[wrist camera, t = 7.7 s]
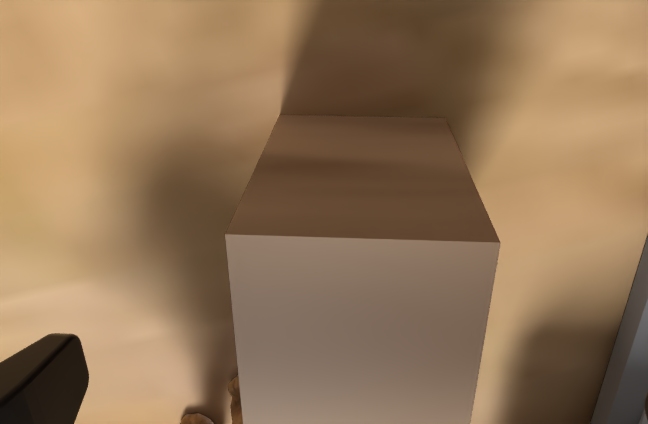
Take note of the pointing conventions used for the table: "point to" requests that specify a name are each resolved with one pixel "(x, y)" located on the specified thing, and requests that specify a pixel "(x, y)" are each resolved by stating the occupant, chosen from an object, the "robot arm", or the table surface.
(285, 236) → the brown wooden block
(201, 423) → the lion figurine
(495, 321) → the table surface
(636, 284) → the track mat
